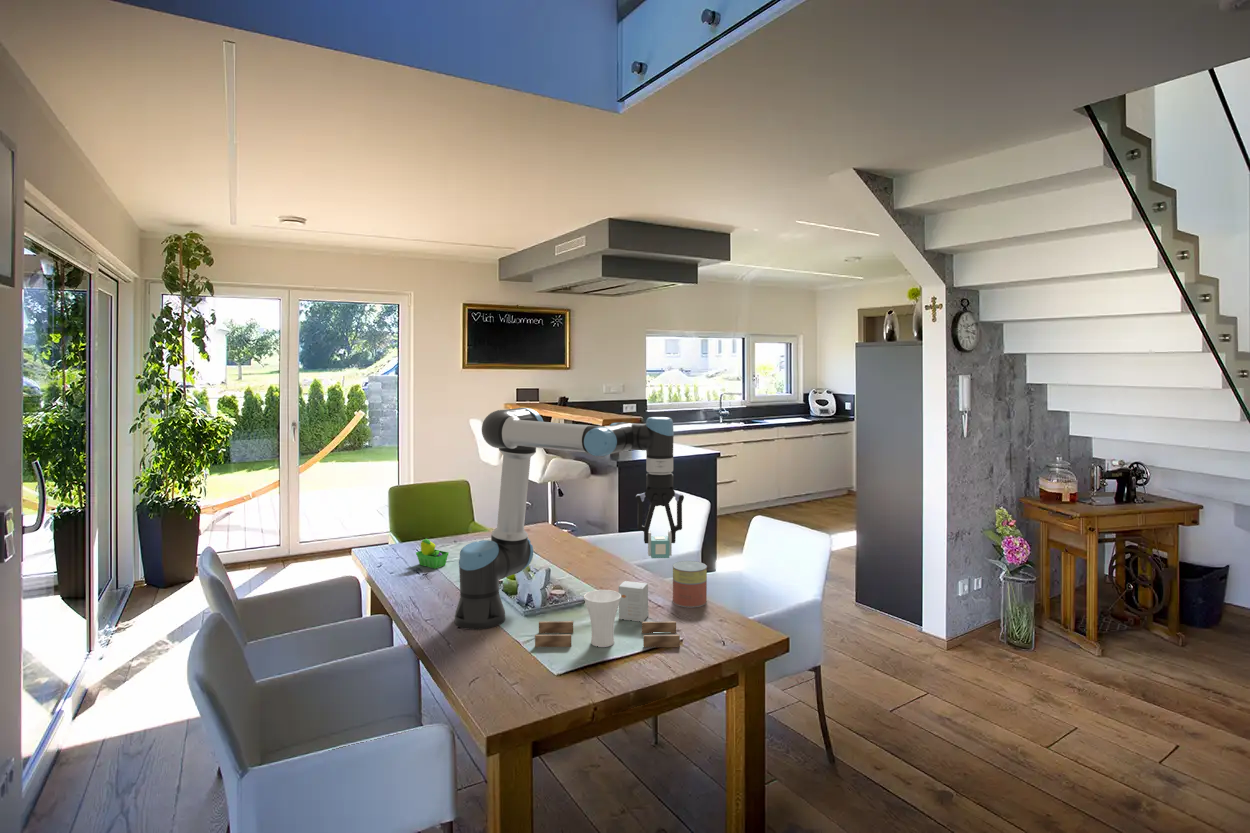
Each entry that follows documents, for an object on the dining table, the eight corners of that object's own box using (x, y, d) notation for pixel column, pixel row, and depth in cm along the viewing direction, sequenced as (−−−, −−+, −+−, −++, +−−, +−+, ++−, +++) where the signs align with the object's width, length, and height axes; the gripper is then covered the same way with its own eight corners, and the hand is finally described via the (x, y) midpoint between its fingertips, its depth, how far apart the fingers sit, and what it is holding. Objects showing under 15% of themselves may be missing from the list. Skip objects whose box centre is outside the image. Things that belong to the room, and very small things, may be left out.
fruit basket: (450, 565, 265) (449, 536, 264) (432, 571, 258) (432, 541, 257) (430, 560, 271) (429, 533, 270) (412, 566, 264) (411, 537, 263)
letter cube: (651, 558, 188) (651, 540, 188) (650, 553, 193) (650, 535, 193) (669, 558, 188) (669, 540, 188) (667, 553, 193) (667, 535, 193)
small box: (648, 616, 211) (648, 583, 210) (643, 622, 205) (643, 588, 205) (624, 613, 213) (624, 580, 212) (618, 619, 208) (618, 585, 207)
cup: (607, 653, 183) (607, 604, 182) (576, 645, 189) (576, 597, 188) (628, 640, 192) (628, 593, 191) (597, 632, 198) (597, 587, 197)
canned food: (713, 601, 224) (713, 565, 223) (692, 610, 216) (693, 573, 215) (686, 593, 232) (686, 558, 231) (665, 601, 223) (665, 566, 223)
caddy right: (643, 647, 187) (643, 636, 187) (641, 632, 198) (641, 621, 197) (679, 647, 187) (679, 635, 187) (676, 632, 198) (676, 621, 198)
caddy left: (535, 647, 187) (534, 635, 187) (539, 632, 198) (539, 621, 198) (571, 646, 188) (571, 635, 187) (573, 631, 198) (573, 621, 198)
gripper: (627, 474, 185) (627, 558, 187) (693, 474, 185) (693, 558, 187) (627, 470, 192) (627, 551, 194) (690, 470, 193) (690, 550, 195)
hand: (659, 554), depth 191 cm, fingers closed on letter cube, 5 cm apart
